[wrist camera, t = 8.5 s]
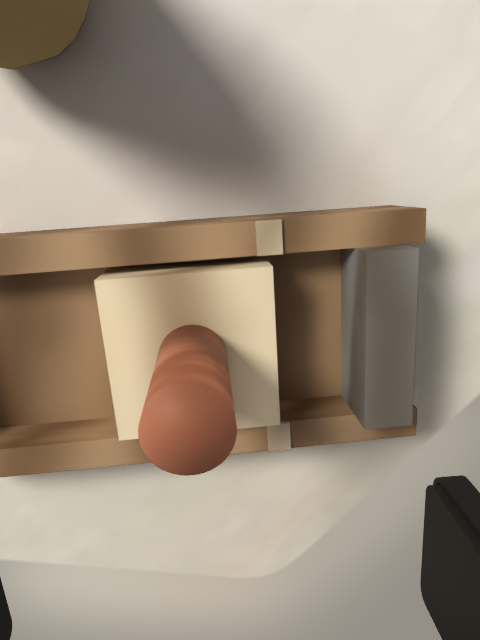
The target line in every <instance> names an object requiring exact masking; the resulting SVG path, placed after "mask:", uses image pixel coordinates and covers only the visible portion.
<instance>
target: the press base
mask: <svg viewBox="0 0 480 640" xmlns="http://www.w3.org/2000/svg"><path fill="white" fill-rule="evenodd" d="M425 226H426V208H416V207H404V206H392V205H388V206H374V207H360V208H346V209H333V210H319V211H305V212H291V213H277V214H264V215H250V216H236V217H222V218H209V219H195V220H181V221H167V222H154V223H140V224H126V225H112V226H98V227H85V228H71V229H57V230H43V231H30V232H16V233H2V234H0V477H8V476H18V475H28V474H38V473H48V472H58V471H68V470H78V469H88V468H97V467H107V466H117V465H127V464H137V463H147V462H151V461H150V460H149V459H148V458H147V456H146V455H145V454H144V452H143V450H142V448H141V445H140V442H139V439H131V440H121V441H119V437H118V431H117V425H116V418H115V412H114V405H113V399H112V393H111V386H110V380H109V374H108V367H107V361H106V355H105V348H104V342H103V336H102V329H101V323H100V317H99V310H98V304H97V298H96V291H95V285H94V280H95V279H96V278H98V277H99V276H100V275H101V274H102V273H104V272H105V271H106V270H107V269H111V268H124V267H136V266H149V265H162V264H175V263H188V262H201V261H214V260H227V259H239V258H252V257H265V258H266V259H267V260H268V262H269V263H270V264H271V265H272V266H273V279H274V300H275V321H276V343H277V364H278V386H279V407H280V425H273V426H263V427H253V428H243V429H237V437H236V441H235V445H234V447H233V449H232V451H231V453H230V454H236V453H246V452H256V451H265V450H268V452H276V451H286V450H291V448H295V447H305V446H315V445H325V444H335V443H345V442H354V441H364V440H374V439H384V438H394V437H404V436H414V435H416V424H417V408H416V407H415V406H414V405H413V390H414V366H415V343H416V319H417V295H418V272H419V248H417V247H413V246H409V245H406V244H413V243H425Z"/></svg>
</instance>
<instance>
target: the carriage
mask: <svg viewBox="0 0 480 640" xmlns="http://www.w3.org/2000/svg"><path fill="white" fill-rule="evenodd" d="M94 285H95V291H96V298H97V304H98V310H99V317H100V323H101V329H102V336H103V342H104V348H105V355H106V361H107V367H108V374H109V380H110V386H111V393H112V399H113V405H114V412H115V418H116V425H117V431H118V437H119V441H121V440H131V439H139V442H140V445H141V448H142V450H143V452H144V454H145V455H146V456H147V458H148V459H149V460H150V461H151V462H152V463H153V464H155V465H156V466H157V467H159V468H161V469H162V470H165V471H167V472H170V473H173V474H178V475H196V474H201V473H204V472H207V471H209V470H212V469H213V468H215V467H217V466H218V465H219V464H221V463H222V462H223V461H224V460H225V459H226V458H227V457H228V456H229V454H230V453H231V451H232V449H233V447H234V445H235V441H236V437H237V429H243V428H253V427H263V426H273V425H280V407H279V386H278V364H277V343H276V321H275V300H274V279H273V266H272V265H271V264H270V263H269V262H268V260H267V259H266V258H265V257H252V258H239V259H227V260H214V261H201V262H188V263H175V264H162V265H149V266H136V267H124V268H111V269H107V270H106V271H105V272H104V273H102V274H101V275H100V276H99V277H98V278H96V279H95V280H94Z"/></svg>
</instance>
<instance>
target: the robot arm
mask: <svg viewBox="0 0 480 640" xmlns="http://www.w3.org/2000/svg"><path fill="white" fill-rule="evenodd" d="M424 517H425V518H424V533H423V551H422V568H421V592H422V596H423V600H424V602H425V605H426V607H427V609H428V611H429V613H430V615H431V617H432V619H433V621H434V623H435V625H436V628H437V629H438V632H439V634H440V635H441V638H442V640H480V493H479V492H478V490H477V489H476V488H475V487H474V486H473V485H472V483H471V482H470V481H469V480H468V479H467V478H466V477H465V476H450V477H439V478H436V479H435V480H434V482H433V485H429V486H427V488H426V499H425V516H424ZM11 632H12V619H11V615H10V612H9V608H8V604H7V600H6V597H5V593H4V590H3V586H2V582H1V578H0V640H10V637H11Z"/></svg>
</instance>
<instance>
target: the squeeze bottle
mask: <svg viewBox="0 0 480 640" xmlns="http://www.w3.org/2000/svg"><path fill="white" fill-rule="evenodd" d="M89 3H90V0H0V67H1V68H7V69H13V68H17V67H20V66H24V65H27V64H31V63H35V62H38V61H42V60H45V59H48V58H51V57H54V56H57V55H58V54H60V53H61V52H62V51H63V50H64V49H65V48H66V47H67V46H69V45H70V44H71V43H72V42H73V41H74V40H75V39H76V37H77V34H78V32H79V30H80V27H81V25H82V23H83V21H84V18H85V16H86V13H87V9H88V6H89Z"/></svg>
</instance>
